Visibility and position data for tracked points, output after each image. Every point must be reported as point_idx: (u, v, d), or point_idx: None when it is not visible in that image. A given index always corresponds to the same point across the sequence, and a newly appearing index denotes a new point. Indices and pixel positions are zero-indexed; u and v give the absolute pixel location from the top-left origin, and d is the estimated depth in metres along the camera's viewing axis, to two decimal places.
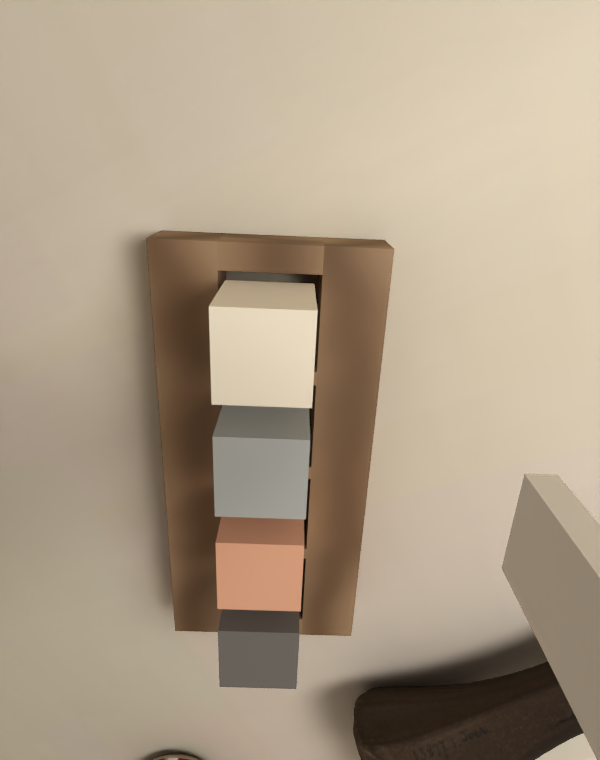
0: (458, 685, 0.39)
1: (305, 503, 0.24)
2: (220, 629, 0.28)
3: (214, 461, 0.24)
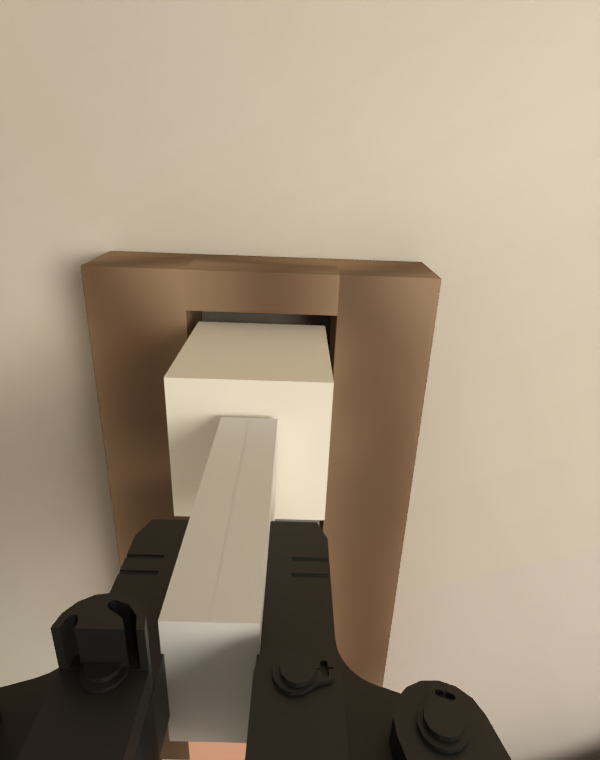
0: None
1: None
2: None
3: None
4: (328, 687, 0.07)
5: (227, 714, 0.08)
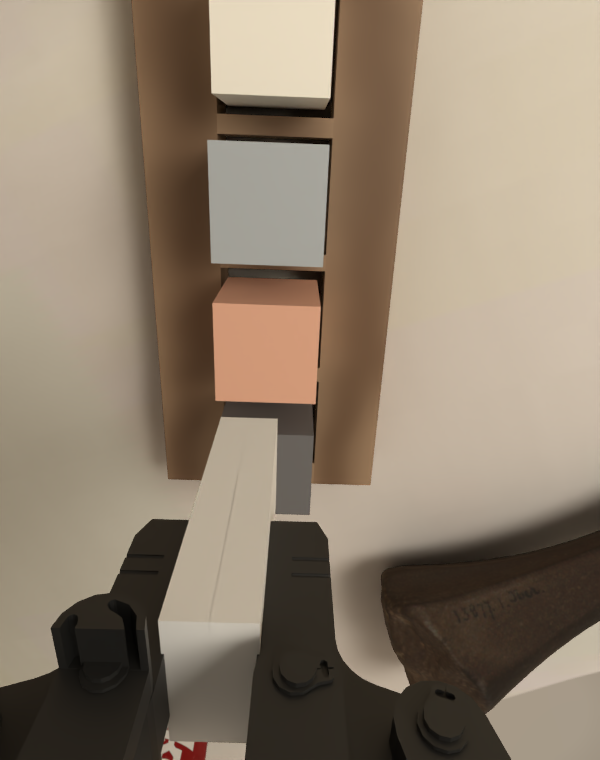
0: (498, 558, 0.35)
1: (322, 243, 0.20)
2: None
3: (210, 179, 0.19)
4: (328, 687, 0.07)
5: (227, 714, 0.08)
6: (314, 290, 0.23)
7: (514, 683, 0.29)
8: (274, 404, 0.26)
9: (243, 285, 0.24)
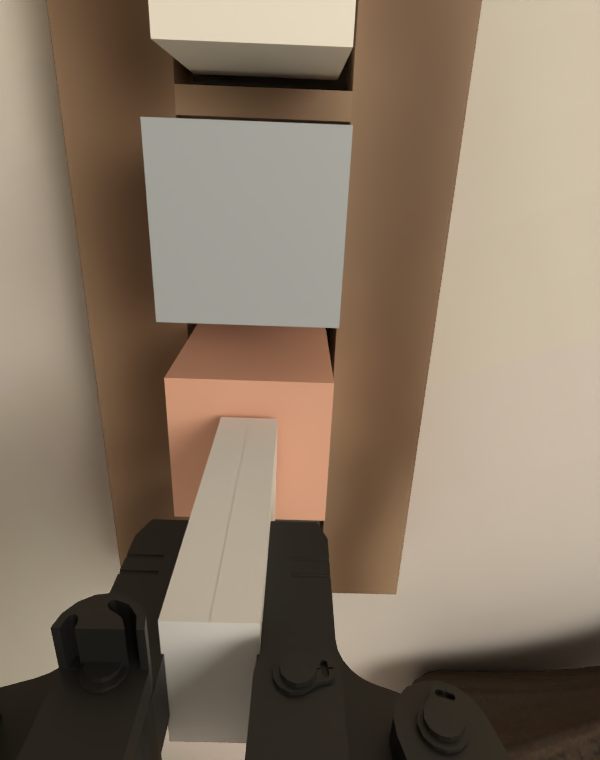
0: (562, 671, 0.27)
1: (339, 289, 0.12)
2: None
3: (148, 184, 0.11)
4: (328, 687, 0.07)
5: (227, 714, 0.08)
6: (322, 347, 0.16)
7: None
8: None
9: (218, 338, 0.16)
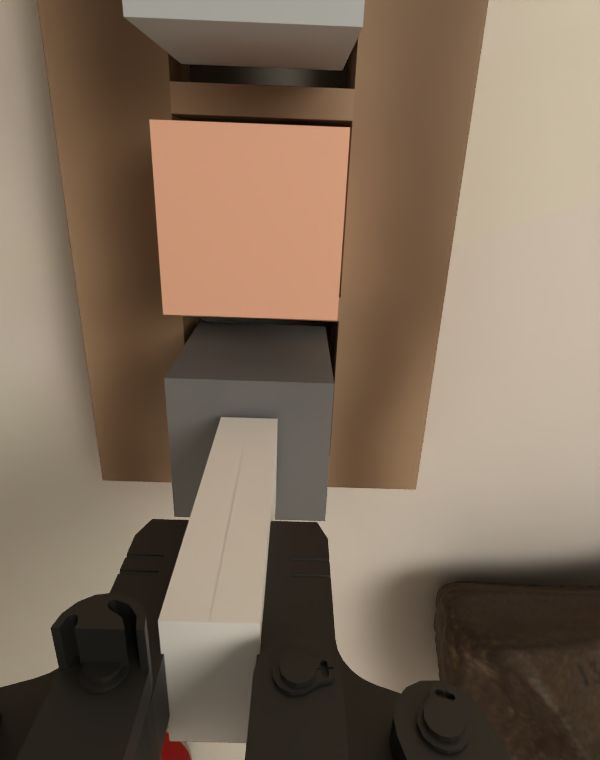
0: None
1: None
2: (169, 376, 0.13)
3: None
4: (328, 687, 0.07)
5: (227, 714, 0.08)
6: None
7: None
8: (267, 342, 0.16)
9: None
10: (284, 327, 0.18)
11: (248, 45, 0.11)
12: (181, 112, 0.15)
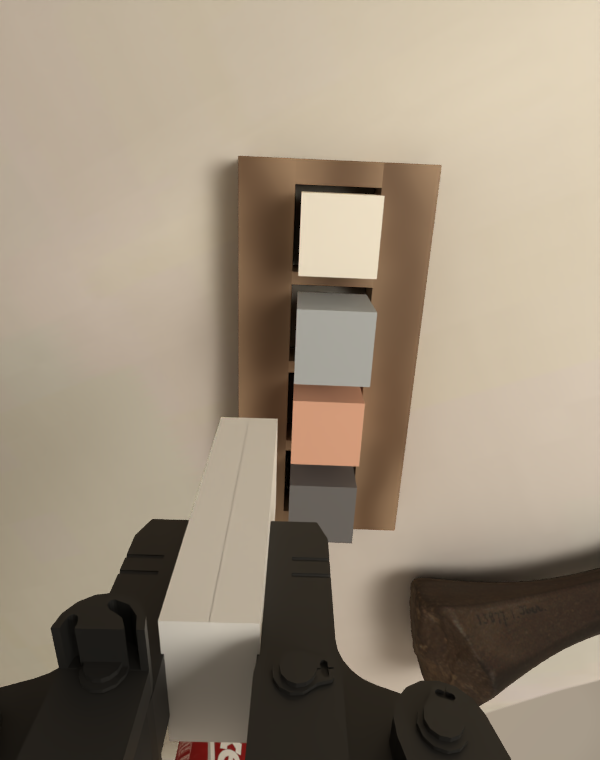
0: (506, 582, 0.43)
1: (370, 371, 0.29)
2: (291, 484, 0.34)
3: (297, 332, 0.29)
4: (328, 687, 0.07)
5: (227, 714, 0.08)
6: (357, 387, 0.34)
7: (515, 678, 0.37)
8: None
9: None
10: None
11: None
12: (292, 372, 0.35)
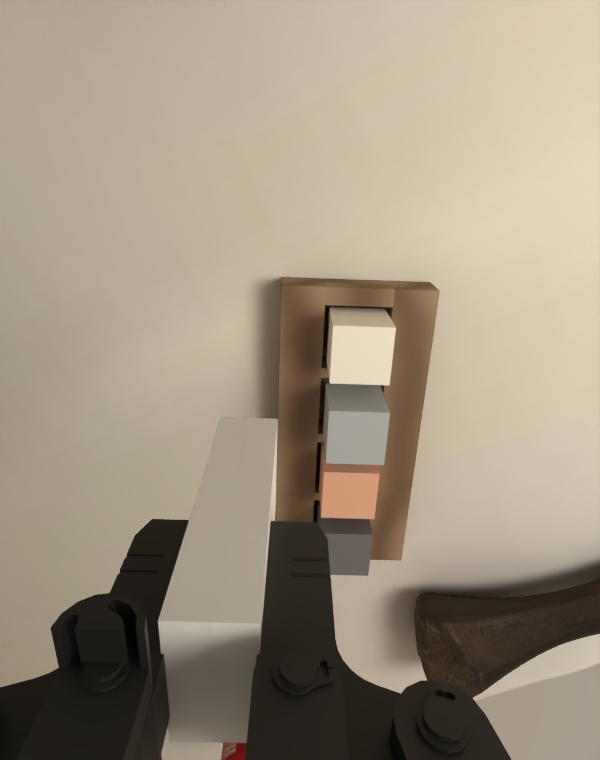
0: (494, 598, 0.53)
1: (384, 454, 0.38)
2: None
3: (328, 426, 0.37)
4: (328, 687, 0.07)
5: (227, 714, 0.08)
6: None
7: (499, 678, 0.47)
8: None
9: None
10: None
11: None
12: (320, 441, 0.44)
